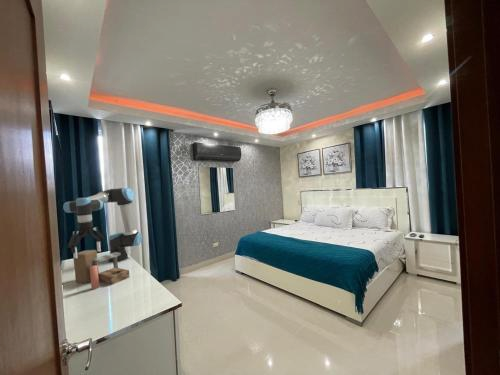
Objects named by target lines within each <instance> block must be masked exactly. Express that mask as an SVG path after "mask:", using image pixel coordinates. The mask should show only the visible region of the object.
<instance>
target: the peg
mask: <svg viewBox="0 0 500 375" xmlns="http://www.w3.org/2000/svg"><path fill="white" fill-rule="evenodd" d="M98 271H99V267H98V268H97V265H95V266H91V267H90V276H91V281H90V285H91V290H97V289H99V288H100V281H99V279H98Z"/></svg>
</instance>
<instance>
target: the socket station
mask: <svg viewBox="0 0 500 375" xmlns="http://www.w3.org/2000/svg"><path fill="white" fill-rule="evenodd" d="M119 255H121V253H117V252H114V253H111V254H110V253H107V254H105V255H101V256H97V258H94V259H92V266H95V265H97V263H100V262H104V261H107V260H108V259H110V258H113V262H112V264H113V267H112V268H109V269H106V270H104V271H101V272H99V273H98V279H99V282H102V283H104V284H108V285H114V284H116V283H120V282H122V281H124V280H127V279H129V278H130V270H129V269H125V268H120V267H119V264H118V263H119V261H117V256H119Z"/></svg>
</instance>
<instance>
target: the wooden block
mask: <svg viewBox="0 0 500 375" xmlns="http://www.w3.org/2000/svg"><path fill="white" fill-rule="evenodd" d="M77 257H78V258H74V254H73V265H74V266H73V268H74V278H75V279H74V280H75V282H76V283H81V284H82V283H84V284H85V283H89V282H91V276H90V267H91V266H92V259H94V258H98V251H97V249H90V250H89V249H88V250H87V249H86V250H82V251H80V252H77ZM98 263H99V262H98ZM98 263H97V268H98V269H99V264H98ZM98 273H100V272H99V270H98Z"/></svg>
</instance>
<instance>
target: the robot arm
mask: <svg viewBox="0 0 500 375" xmlns="http://www.w3.org/2000/svg"><path fill="white" fill-rule="evenodd" d="M134 200H135V193H134V191H133V190H132V189H131V188H129V187H121V188H119V187H118V188H110V189H106V190H101V191H100V192H99V191H98V193H96V194H94V195H91V196H87V197H76V200H72V201H66V202H64V204H63V206H62V208H63V210H64V212H65V213H68V214H69V213H72V214H73V213H76V214H77V215H76V217H77V227H78V230H76V231H75V230H73V231H72V234H71V237H70V239H69V242H68V243H67V246H66V247H67V248H69V249H70V250H71V254H73V255H74V258H78V257H77V253H78V248H77V245H78V244H79V242H80V241H81V240H82V239H83V238H85V237H89V236H91V237H93V238H94V239H95V240H96V251H97V252H102V249H101V247H102V242H103V240H105V237H104V236H103V234H102V232H101V231H100V229H99V227H98V226H95V227H94V225H93V215H92V213H93V212H94V211H99V210H102V209H103V208H104V204H106V203H107V204H108V203H116V204H117V206H119V210H120V213H121V214H120V215H121V218H122V223H123V224H122V225H123V228H124V232H117V233H114V234H111V235H109V236H108V243H109V254H111V253H114V252H117V253H121V255H119V256H117V261H118V262H120V261H123V260H126V259H128V258H129V256H128V253H127V250H126V248H127V247H128V248H130V247H138V246H139V245H141V242H142V241H143V235H142V233H141V232H139V229H137V227H136V222H135V219H134V214H133V213H134V212H133V208H132V203H133V201H134ZM94 231H95V232H94ZM95 233H96V234H95ZM77 235H78V236H77ZM74 258H73V259H74ZM107 260H108V262H110V263H113V258H110V259H107Z"/></svg>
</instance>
